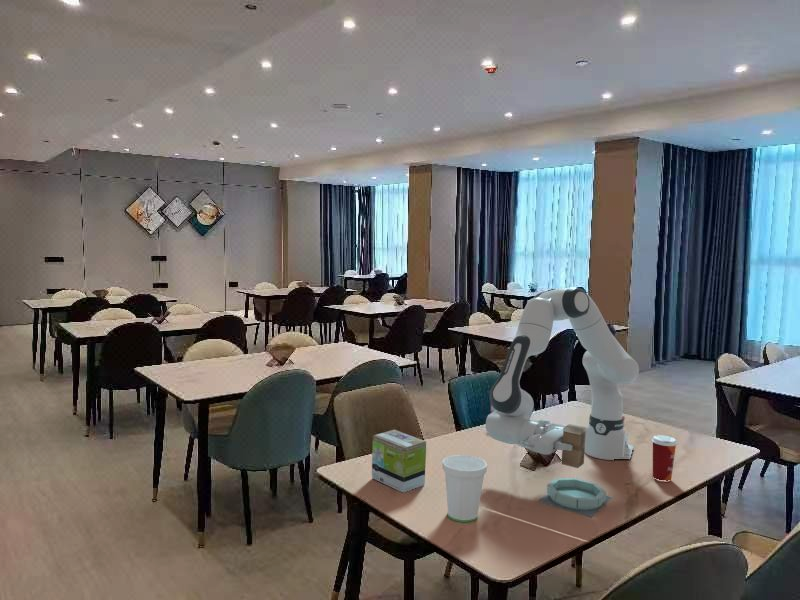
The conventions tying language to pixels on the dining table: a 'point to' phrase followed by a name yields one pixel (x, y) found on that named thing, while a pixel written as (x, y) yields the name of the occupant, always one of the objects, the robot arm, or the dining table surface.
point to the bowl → (576, 493)
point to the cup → (463, 486)
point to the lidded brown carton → (577, 438)
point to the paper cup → (663, 456)
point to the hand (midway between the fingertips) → (576, 445)
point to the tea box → (399, 460)
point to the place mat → (583, 512)
